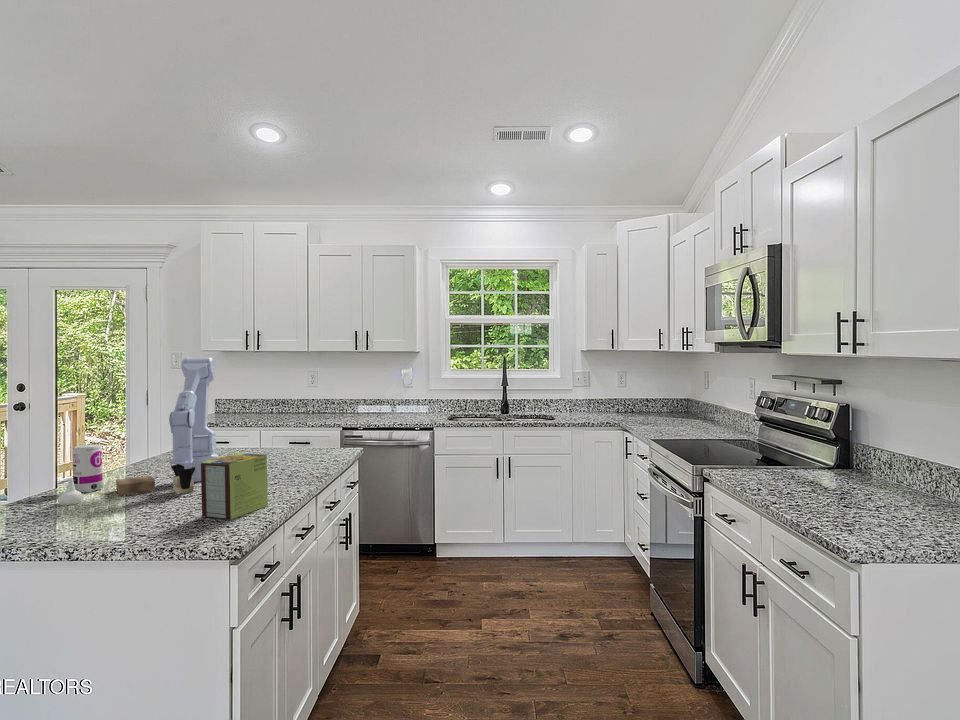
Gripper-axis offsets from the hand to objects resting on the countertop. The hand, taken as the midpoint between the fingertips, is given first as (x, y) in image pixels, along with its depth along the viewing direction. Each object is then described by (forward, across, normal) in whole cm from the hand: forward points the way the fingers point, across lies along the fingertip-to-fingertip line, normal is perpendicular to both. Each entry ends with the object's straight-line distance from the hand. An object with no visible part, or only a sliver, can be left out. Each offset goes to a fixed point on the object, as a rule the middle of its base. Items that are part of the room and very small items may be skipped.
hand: (183, 487), depth 189 cm
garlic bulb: (+2, -8, -30) cm, 31 cm away
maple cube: (+1, 0, 0) cm, 1 cm away
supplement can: (+2, -24, -24) cm, 34 cm away
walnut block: (+2, -12, -12) cm, 17 cm away
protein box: (+2, +36, +6) cm, 37 cm away
